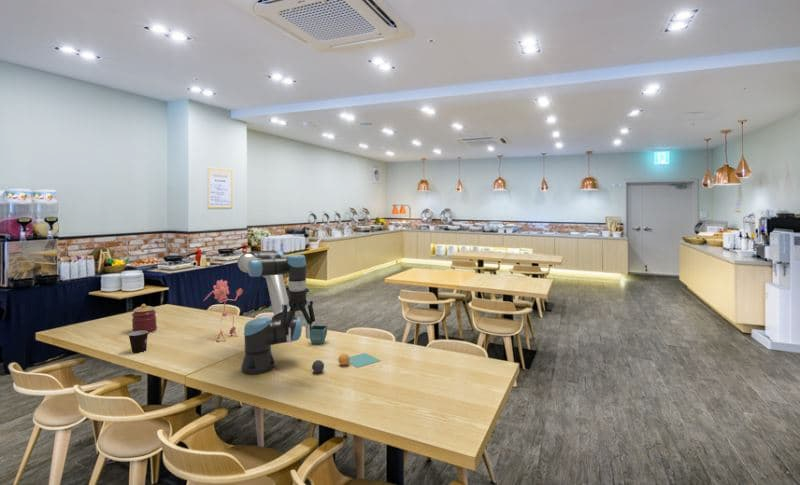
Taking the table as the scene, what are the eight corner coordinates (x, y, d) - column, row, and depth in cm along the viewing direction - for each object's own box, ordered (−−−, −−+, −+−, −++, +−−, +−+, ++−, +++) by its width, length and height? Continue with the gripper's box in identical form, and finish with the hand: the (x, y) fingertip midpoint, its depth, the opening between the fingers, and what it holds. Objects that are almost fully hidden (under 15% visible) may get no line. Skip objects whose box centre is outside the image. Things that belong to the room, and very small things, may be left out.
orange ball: (342, 367, 191) (342, 356, 191) (336, 364, 195) (336, 353, 195) (351, 365, 195) (351, 354, 194) (345, 361, 199) (345, 351, 198)
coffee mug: (139, 354, 209) (138, 335, 208) (125, 353, 211) (124, 334, 210) (157, 347, 221) (156, 329, 220) (143, 346, 222) (142, 328, 222)
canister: (134, 330, 253) (133, 302, 252) (158, 327, 258) (157, 300, 257) (130, 335, 241) (129, 307, 240) (155, 333, 247) (154, 305, 245)
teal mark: (357, 367, 191) (357, 367, 191) (342, 359, 202) (342, 359, 202) (380, 360, 200) (380, 360, 200) (364, 353, 211) (364, 352, 211)
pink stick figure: (248, 333, 246) (245, 276, 244) (215, 346, 222) (211, 284, 220) (229, 331, 252) (226, 276, 250) (194, 343, 228) (191, 282, 226)
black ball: (315, 375, 182) (315, 363, 182) (310, 371, 187) (309, 360, 186) (326, 372, 186) (326, 360, 185) (320, 368, 190) (320, 357, 190)
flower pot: (328, 340, 232) (327, 325, 231) (323, 345, 223) (323, 329, 223) (313, 340, 233) (313, 325, 232) (308, 345, 224) (308, 329, 224)
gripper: (277, 294, 168) (278, 347, 169) (322, 288, 181) (323, 337, 183) (270, 291, 174) (272, 342, 175) (315, 285, 187) (315, 333, 188)
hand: (298, 339), depth 179 cm, fingers open, 8 cm apart
